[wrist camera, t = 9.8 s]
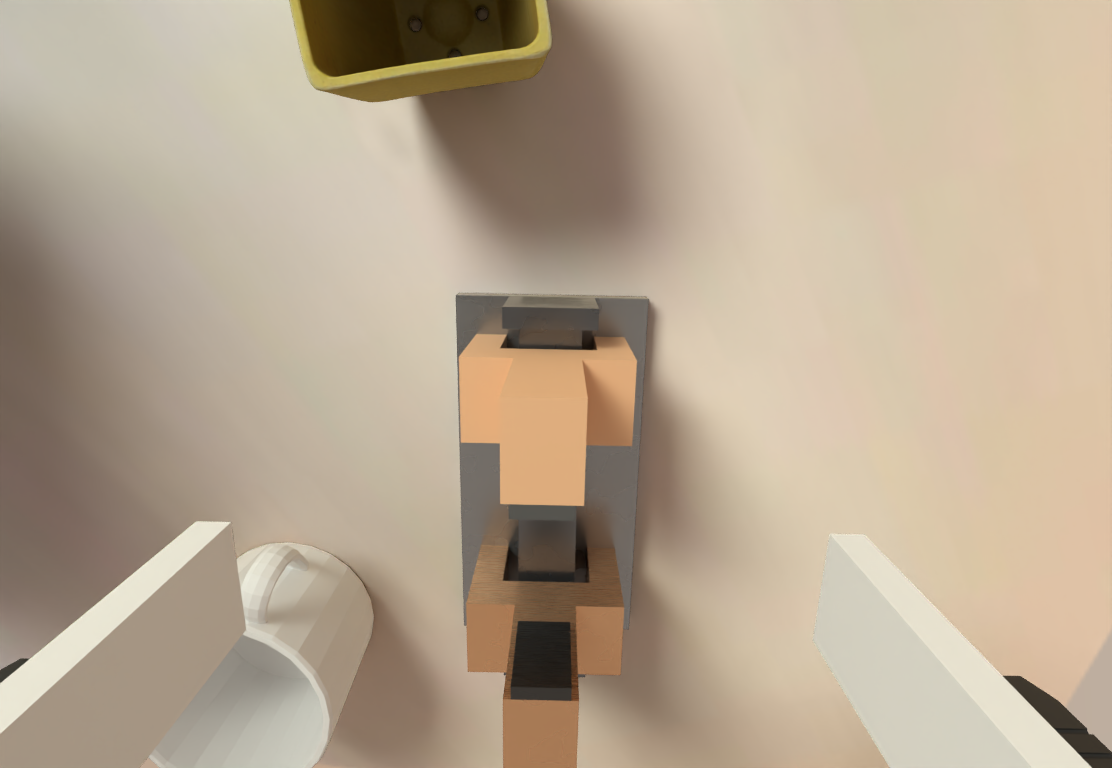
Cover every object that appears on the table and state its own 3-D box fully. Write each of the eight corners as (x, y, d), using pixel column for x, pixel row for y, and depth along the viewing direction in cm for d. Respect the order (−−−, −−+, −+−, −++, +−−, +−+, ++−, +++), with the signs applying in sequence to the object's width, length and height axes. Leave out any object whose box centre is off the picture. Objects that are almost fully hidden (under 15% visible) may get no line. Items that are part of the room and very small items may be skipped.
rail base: (466, 615, 37) (420, 805, 25) (459, 292, 32) (395, 336, 20) (627, 618, 37) (658, 811, 25) (646, 296, 32) (697, 342, 20)
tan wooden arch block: (624, 337, 31) (658, 400, 20) (620, 419, 32) (650, 522, 21) (476, 333, 31) (429, 395, 20) (477, 416, 32) (433, 517, 21)
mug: (358, 698, 39) (307, 818, 31) (199, 655, 38) (105, 767, 30) (410, 523, 35) (367, 607, 28) (235, 471, 35) (140, 543, 27)
